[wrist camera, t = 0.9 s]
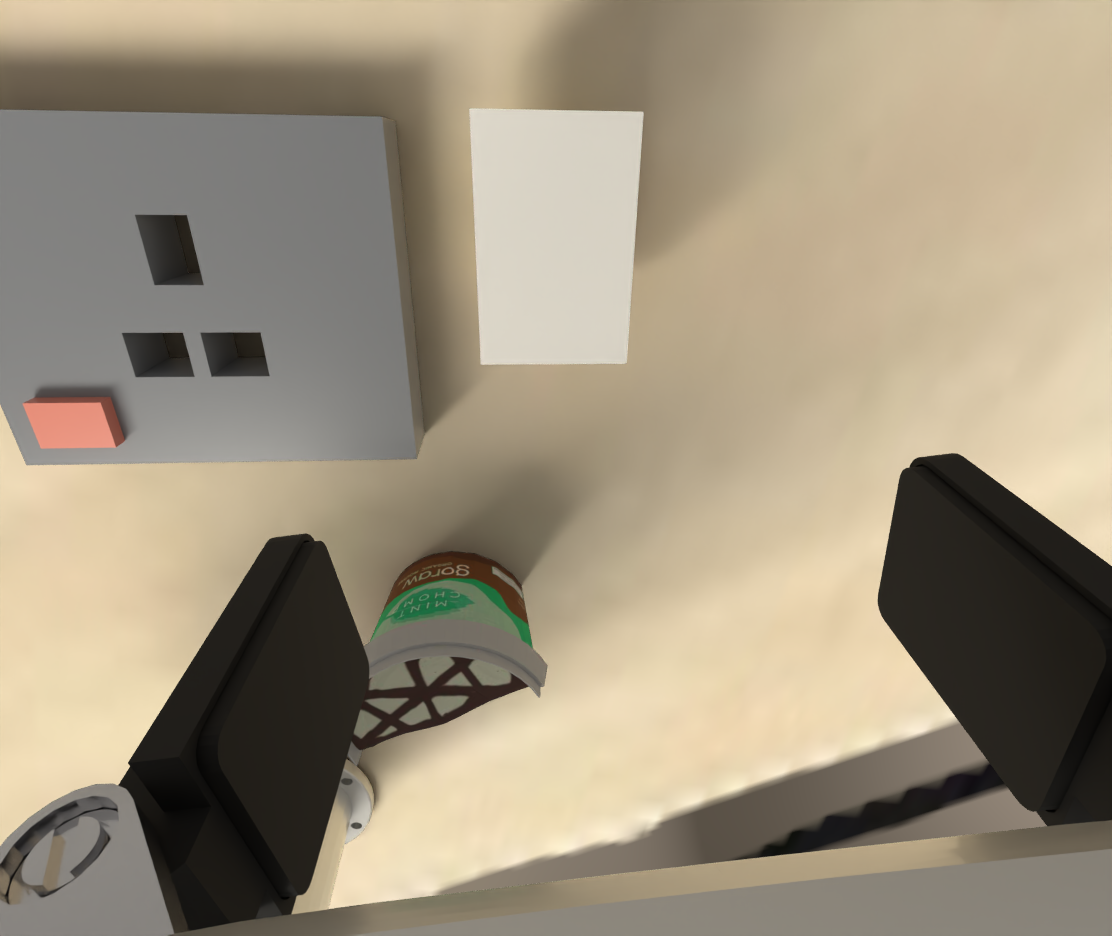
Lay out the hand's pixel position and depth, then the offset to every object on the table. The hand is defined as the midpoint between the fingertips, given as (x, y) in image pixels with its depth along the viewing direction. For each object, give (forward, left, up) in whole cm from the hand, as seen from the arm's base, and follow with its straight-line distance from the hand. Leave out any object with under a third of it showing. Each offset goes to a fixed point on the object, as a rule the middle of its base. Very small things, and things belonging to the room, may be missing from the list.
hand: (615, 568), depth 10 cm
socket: (0, +17, -25) cm, 30 cm away
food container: (-19, +7, -25) cm, 32 cm away
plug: (+3, 0, -25) cm, 25 cm away
